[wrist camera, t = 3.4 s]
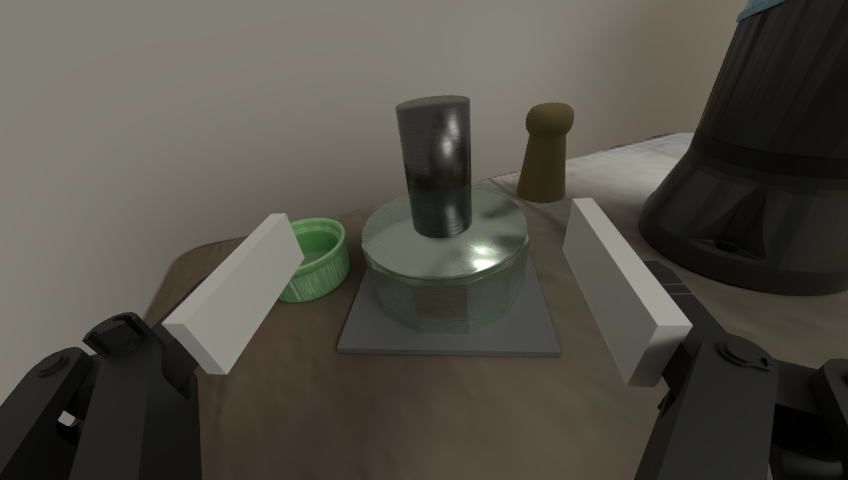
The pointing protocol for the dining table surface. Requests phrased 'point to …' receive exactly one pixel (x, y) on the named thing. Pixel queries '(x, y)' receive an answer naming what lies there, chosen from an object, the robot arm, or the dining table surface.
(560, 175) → the cork
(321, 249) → the ramekin
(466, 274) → the cover
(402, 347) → the mat
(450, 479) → the dining table surface
